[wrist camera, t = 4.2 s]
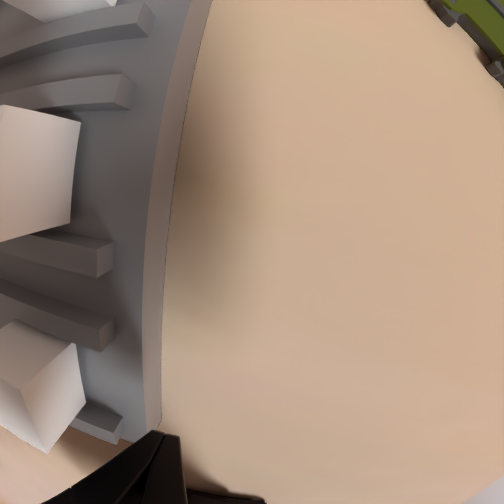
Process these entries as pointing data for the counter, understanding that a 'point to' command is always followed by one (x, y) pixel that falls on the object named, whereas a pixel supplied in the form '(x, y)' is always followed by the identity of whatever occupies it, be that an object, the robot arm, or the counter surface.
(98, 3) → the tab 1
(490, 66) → the gun
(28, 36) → the switch bank
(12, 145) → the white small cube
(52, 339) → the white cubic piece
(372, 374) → the counter surface
